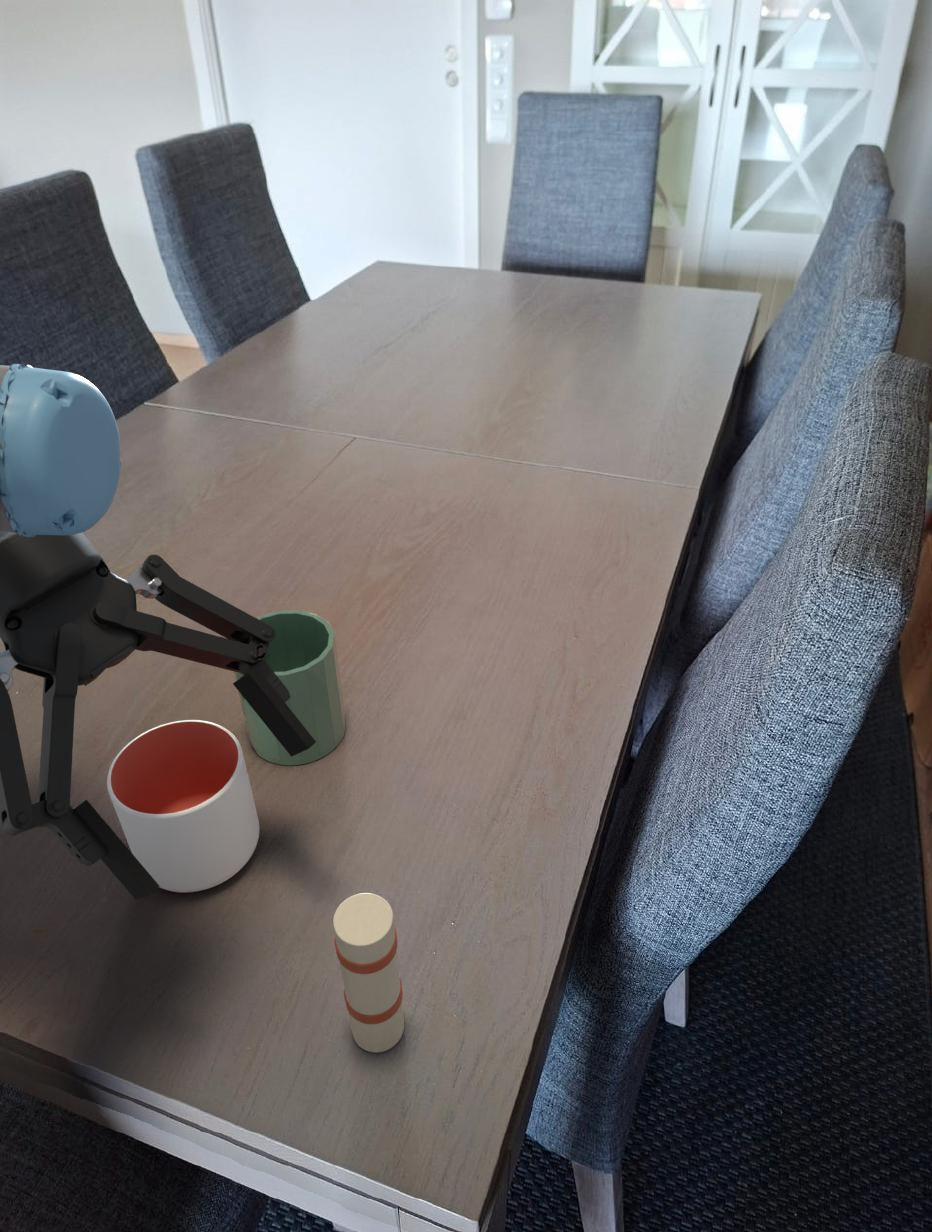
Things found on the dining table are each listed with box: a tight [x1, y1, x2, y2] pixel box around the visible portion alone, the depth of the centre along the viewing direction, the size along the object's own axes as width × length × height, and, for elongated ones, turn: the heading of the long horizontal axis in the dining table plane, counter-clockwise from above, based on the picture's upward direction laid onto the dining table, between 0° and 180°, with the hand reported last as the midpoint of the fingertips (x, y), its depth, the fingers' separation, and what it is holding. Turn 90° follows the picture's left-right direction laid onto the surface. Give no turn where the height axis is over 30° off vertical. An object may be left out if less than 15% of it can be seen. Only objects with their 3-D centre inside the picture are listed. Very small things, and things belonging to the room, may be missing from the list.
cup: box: [106, 719, 260, 893], centre depth 69 cm, size 10×10×10 cm
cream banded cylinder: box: [332, 892, 405, 1054], centre depth 56 cm, size 4×4×13 cm
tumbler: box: [233, 609, 346, 766], centre depth 80 cm, size 9×9×11 cm
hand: (232, 815), depth 56 cm, fingers open, 13 cm apart
